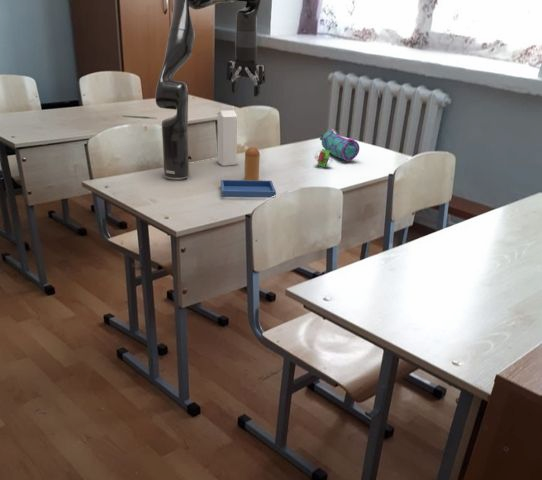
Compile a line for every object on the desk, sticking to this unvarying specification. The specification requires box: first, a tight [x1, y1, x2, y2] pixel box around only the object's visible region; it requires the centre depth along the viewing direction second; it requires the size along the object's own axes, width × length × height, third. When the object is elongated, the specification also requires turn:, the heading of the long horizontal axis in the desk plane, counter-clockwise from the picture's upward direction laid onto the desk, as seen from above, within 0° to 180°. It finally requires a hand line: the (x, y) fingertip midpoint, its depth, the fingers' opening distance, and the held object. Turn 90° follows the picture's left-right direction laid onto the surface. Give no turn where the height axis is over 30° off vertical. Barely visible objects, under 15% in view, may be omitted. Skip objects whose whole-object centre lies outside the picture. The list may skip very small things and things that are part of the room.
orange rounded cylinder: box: [243, 146, 261, 180], centre depth 221 cm, size 5×5×13 cm
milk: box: [216, 105, 238, 167], centre depth 237 cm, size 6×6×22 cm
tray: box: [220, 179, 277, 198], centre depth 212 cm, size 13×19×3 cm
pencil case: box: [319, 129, 360, 162], centre depth 259 cm, size 21×9×10 cm, turn 24°
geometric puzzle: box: [314, 148, 333, 168], centre depth 245 cm, size 7×7×8 cm
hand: (245, 94), depth 214 cm, fingers open, 8 cm apart
